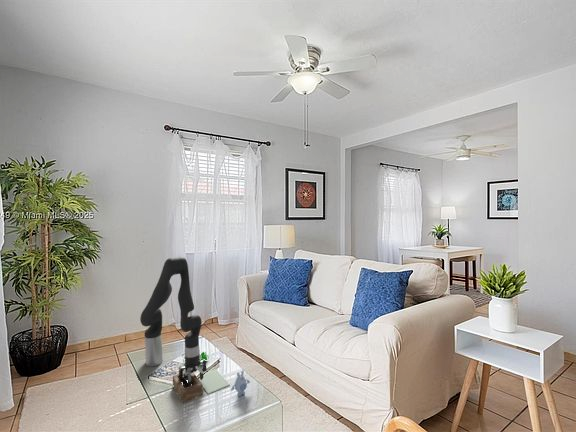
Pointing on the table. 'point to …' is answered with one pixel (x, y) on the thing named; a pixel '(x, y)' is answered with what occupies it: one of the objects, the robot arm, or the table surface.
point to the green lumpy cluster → (202, 356)
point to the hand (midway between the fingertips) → (193, 382)
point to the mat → (213, 381)
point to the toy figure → (240, 384)
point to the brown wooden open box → (188, 388)
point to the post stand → (189, 376)
